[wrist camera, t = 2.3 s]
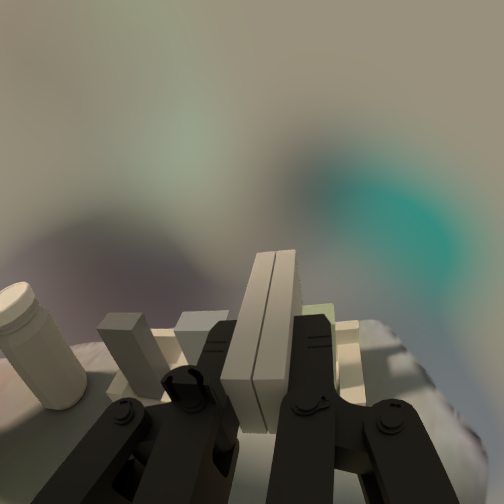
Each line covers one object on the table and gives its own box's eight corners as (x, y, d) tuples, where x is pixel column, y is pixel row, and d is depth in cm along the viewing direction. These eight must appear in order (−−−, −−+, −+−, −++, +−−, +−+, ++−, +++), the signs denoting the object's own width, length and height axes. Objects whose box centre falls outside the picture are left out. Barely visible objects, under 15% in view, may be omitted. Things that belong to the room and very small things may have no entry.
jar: (34, 403, 37) (-30, 314, 29) (65, 365, 45) (13, 277, 37) (68, 422, 34) (-6, 323, 26) (101, 377, 42) (45, 278, 34)
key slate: (248, 405, 33) (222, 330, 28) (207, 403, 34) (173, 330, 29) (252, 386, 36) (229, 310, 31) (213, 385, 37) (183, 311, 32)
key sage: (336, 403, 31) (335, 324, 26) (291, 405, 32) (277, 328, 27) (335, 383, 34) (333, 303, 28) (293, 385, 35) (280, 307, 30)
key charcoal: (170, 400, 35) (131, 330, 30) (138, 396, 37) (96, 328, 31) (177, 383, 38) (142, 312, 33) (145, 380, 39) (108, 312, 34)
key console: (363, 420, 29) (367, 388, 26) (118, 408, 36) (97, 380, 33) (356, 354, 38) (357, 319, 36) (145, 357, 45) (129, 328, 42)
